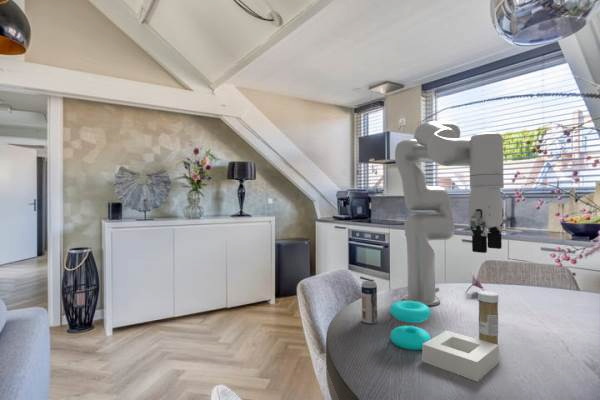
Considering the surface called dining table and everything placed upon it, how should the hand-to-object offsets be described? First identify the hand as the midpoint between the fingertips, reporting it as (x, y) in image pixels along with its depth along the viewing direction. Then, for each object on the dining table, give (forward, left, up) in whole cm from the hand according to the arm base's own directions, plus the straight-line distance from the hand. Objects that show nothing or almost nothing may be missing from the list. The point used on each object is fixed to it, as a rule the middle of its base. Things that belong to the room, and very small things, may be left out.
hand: (487, 250), depth 87 cm
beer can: (+8, -31, -24) cm, 40 cm away
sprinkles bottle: (0, 0, -24) cm, 24 cm away
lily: (-47, -21, -25) cm, 57 cm away
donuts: (+13, -14, -25) cm, 31 cm away
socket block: (+14, -1, -24) cm, 28 cm away
